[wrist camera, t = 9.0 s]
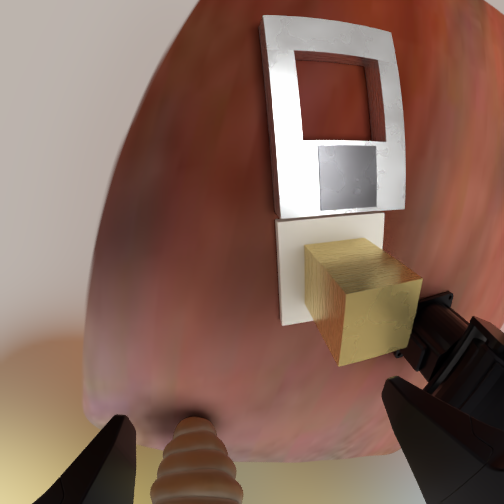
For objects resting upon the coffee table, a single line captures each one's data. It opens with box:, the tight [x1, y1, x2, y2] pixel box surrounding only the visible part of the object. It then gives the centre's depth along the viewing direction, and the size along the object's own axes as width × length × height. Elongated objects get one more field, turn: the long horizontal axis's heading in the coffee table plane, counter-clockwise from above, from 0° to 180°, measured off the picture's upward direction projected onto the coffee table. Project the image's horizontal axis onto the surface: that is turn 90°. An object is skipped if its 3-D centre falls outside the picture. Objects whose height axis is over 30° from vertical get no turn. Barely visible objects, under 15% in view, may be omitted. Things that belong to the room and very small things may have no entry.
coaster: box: [275, 211, 384, 326], centre depth 20 cm, size 8×8×1 cm
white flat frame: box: [258, 15, 406, 219], centre depth 16 cm, size 9×13×2 cm
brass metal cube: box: [304, 238, 423, 367], centre depth 17 cm, size 5×5×7 cm
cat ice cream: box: [150, 417, 243, 504], centre depth 17 cm, size 9×8×18 cm
